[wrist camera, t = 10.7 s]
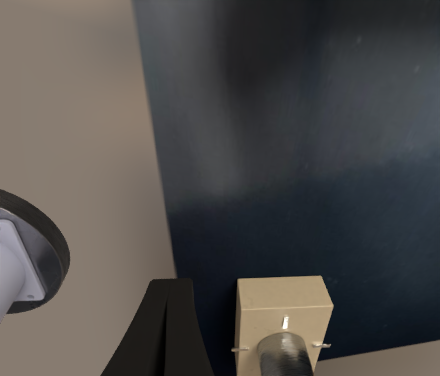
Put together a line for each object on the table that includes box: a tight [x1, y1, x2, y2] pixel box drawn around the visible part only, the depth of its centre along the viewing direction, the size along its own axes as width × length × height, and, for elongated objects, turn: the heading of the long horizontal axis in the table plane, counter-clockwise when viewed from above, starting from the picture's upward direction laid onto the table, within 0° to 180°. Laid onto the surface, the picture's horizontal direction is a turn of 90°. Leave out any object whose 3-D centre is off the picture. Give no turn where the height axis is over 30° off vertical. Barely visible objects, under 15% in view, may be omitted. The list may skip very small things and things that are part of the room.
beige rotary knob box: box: [232, 276, 333, 376], centre depth 27 cm, size 10×8×3 cm
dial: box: [257, 333, 314, 376], centre depth 24 cm, size 4×4×4 cm
